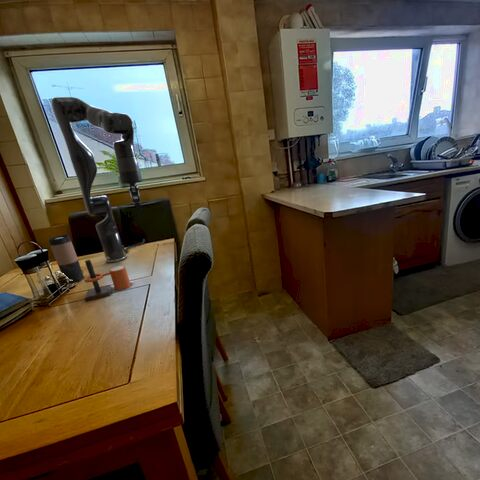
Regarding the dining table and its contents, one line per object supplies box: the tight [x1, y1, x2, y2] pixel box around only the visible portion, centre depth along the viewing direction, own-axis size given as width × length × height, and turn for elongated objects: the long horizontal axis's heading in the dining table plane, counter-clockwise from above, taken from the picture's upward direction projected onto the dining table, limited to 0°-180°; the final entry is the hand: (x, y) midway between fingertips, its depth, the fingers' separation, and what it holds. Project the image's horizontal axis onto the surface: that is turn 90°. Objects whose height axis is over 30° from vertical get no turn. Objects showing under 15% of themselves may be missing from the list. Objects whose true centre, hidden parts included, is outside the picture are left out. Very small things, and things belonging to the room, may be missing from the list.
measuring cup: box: [83, 265, 131, 291], centre depth 108 cm, size 14×6×8 cm, turn 127°
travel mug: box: [48, 234, 85, 284], centre depth 122 cm, size 8×8×20 cm
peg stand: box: [84, 259, 113, 302], centre depth 105 cm, size 8×8×14 cm
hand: (139, 211), depth 114 cm, fingers open, 8 cm apart
